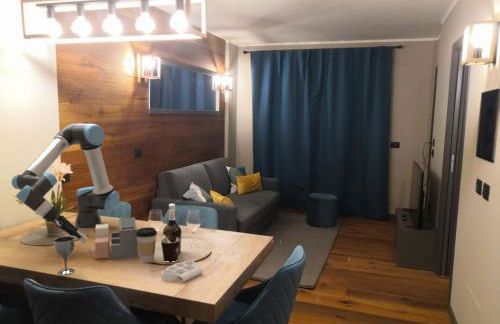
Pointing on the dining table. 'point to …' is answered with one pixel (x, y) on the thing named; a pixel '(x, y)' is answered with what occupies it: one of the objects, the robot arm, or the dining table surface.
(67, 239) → the wine glass
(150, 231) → the coffee cup
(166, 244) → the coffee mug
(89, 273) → the dining table surface
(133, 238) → the console
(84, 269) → the dining table surface
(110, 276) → the dining table surface
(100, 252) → the terracotta key
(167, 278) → the grey muffin tray
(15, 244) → the dining table surface
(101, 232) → the cream key
